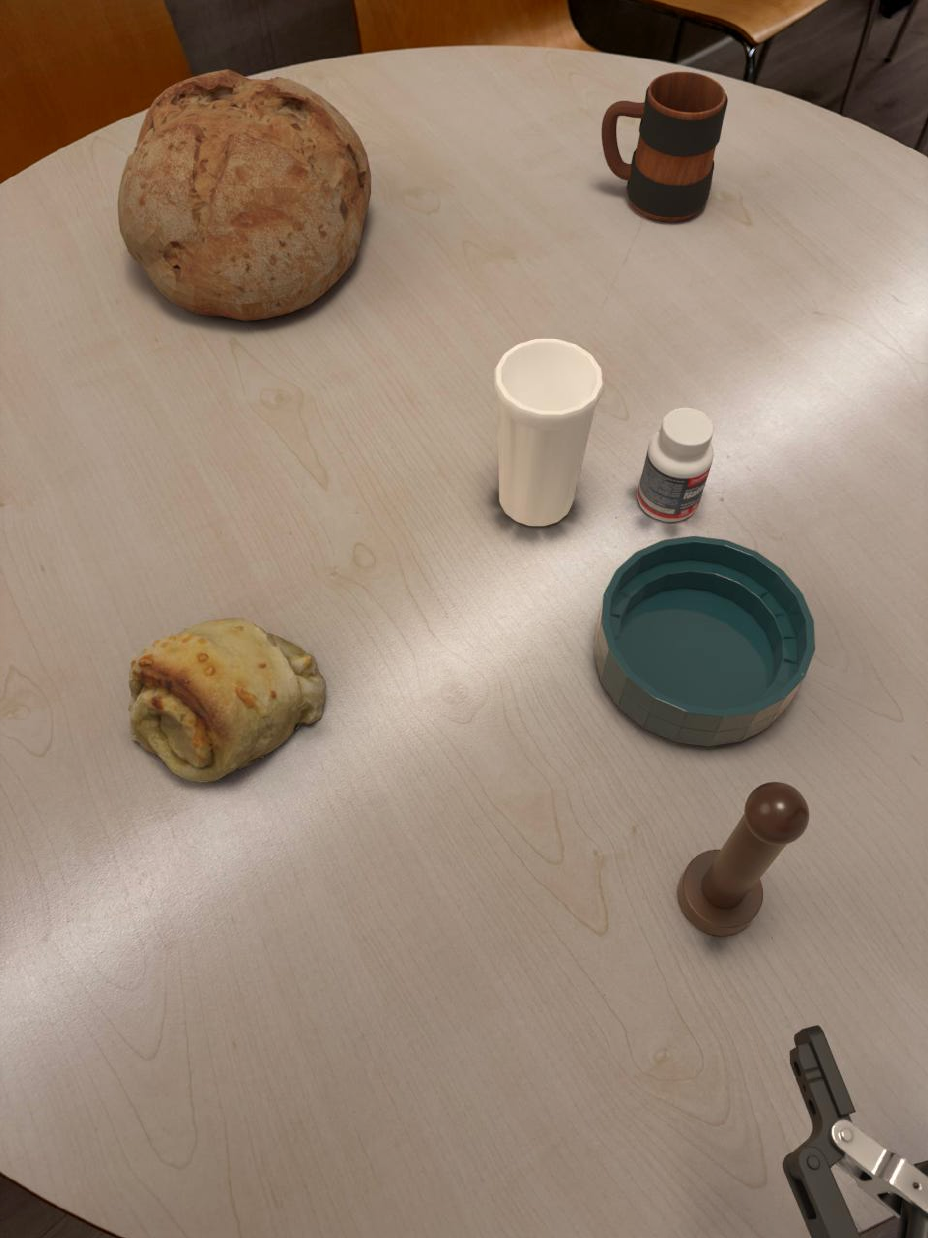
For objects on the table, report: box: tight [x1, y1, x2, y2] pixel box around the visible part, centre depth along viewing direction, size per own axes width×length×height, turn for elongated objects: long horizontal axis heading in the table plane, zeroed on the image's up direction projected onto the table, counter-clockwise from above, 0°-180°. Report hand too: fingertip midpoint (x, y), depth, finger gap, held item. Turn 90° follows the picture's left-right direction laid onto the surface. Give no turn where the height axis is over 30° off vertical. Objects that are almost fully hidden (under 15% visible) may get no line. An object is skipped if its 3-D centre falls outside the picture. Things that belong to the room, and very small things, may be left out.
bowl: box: [593, 535, 816, 747], centre depth 76 cm, size 15×15×6 cm
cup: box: [493, 338, 605, 527], centre depth 81 cm, size 8×8×14 cm
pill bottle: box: [636, 407, 715, 523], centre depth 83 cm, size 5×5×9 cm
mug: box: [601, 71, 729, 223], centre depth 104 cm, size 9×12×12 cm
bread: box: [117, 68, 372, 322], centre depth 98 cm, size 26×23×15 cm
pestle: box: [677, 781, 810, 937], centre depth 62 cm, size 5×5×17 cm
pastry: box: [128, 617, 327, 783], centre depth 72 cm, size 14×12×8 cm
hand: (891, 1007), depth 47 cm, fingers open, 8 cm apart
